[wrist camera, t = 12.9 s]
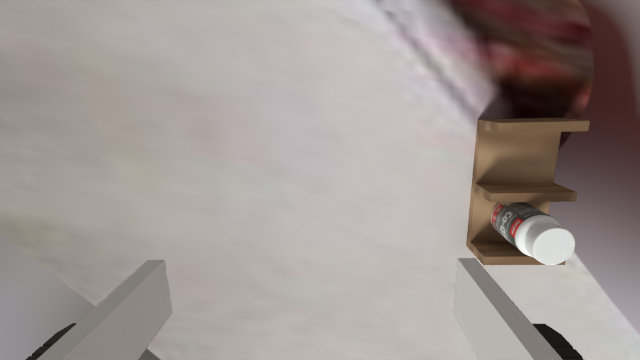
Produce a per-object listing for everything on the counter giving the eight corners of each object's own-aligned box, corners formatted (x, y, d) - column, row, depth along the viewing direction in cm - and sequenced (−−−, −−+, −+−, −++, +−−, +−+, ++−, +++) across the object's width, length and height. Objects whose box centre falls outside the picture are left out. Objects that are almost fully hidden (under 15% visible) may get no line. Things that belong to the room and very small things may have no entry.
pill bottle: (488, 200, 40) (528, 227, 32) (529, 194, 40) (579, 220, 32) (490, 236, 41) (528, 271, 33) (529, 231, 41) (578, 265, 33)
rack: (477, 119, 39) (498, 123, 34) (557, 117, 38) (589, 121, 33) (466, 245, 43) (483, 264, 38) (538, 245, 42) (564, 264, 37)
